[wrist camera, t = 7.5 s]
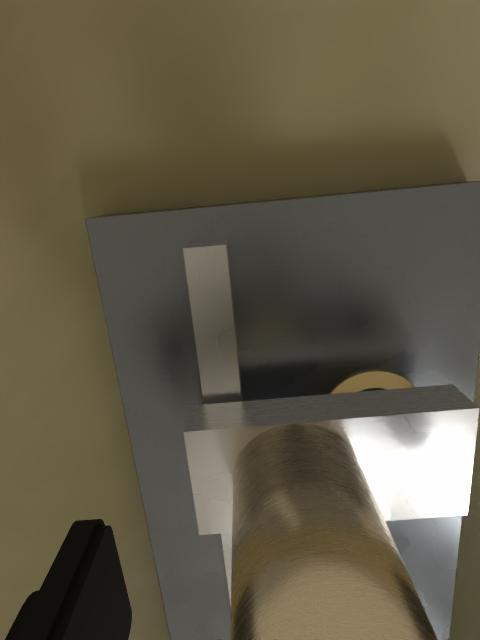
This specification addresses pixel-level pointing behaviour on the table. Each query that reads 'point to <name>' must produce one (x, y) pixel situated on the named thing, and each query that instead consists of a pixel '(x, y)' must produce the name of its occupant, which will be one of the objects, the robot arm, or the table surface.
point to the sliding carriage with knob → (328, 504)
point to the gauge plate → (284, 346)
